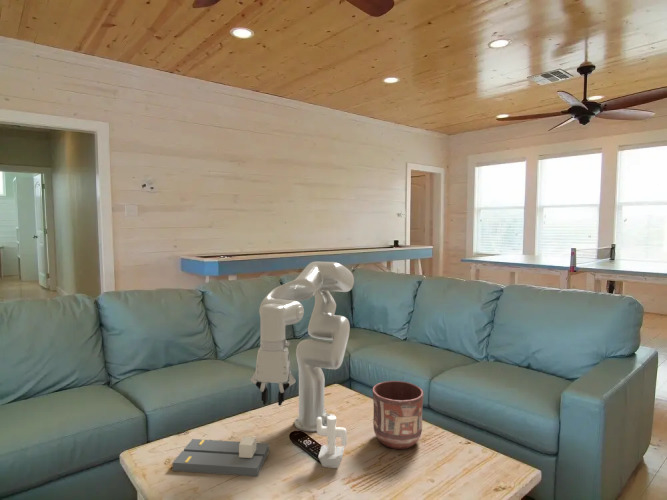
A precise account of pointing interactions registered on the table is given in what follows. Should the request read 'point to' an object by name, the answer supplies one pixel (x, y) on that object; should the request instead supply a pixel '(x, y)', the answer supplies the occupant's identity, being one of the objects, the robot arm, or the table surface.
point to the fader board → (219, 458)
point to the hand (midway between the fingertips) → (273, 402)
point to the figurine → (331, 442)
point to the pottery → (397, 413)
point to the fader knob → (247, 447)
